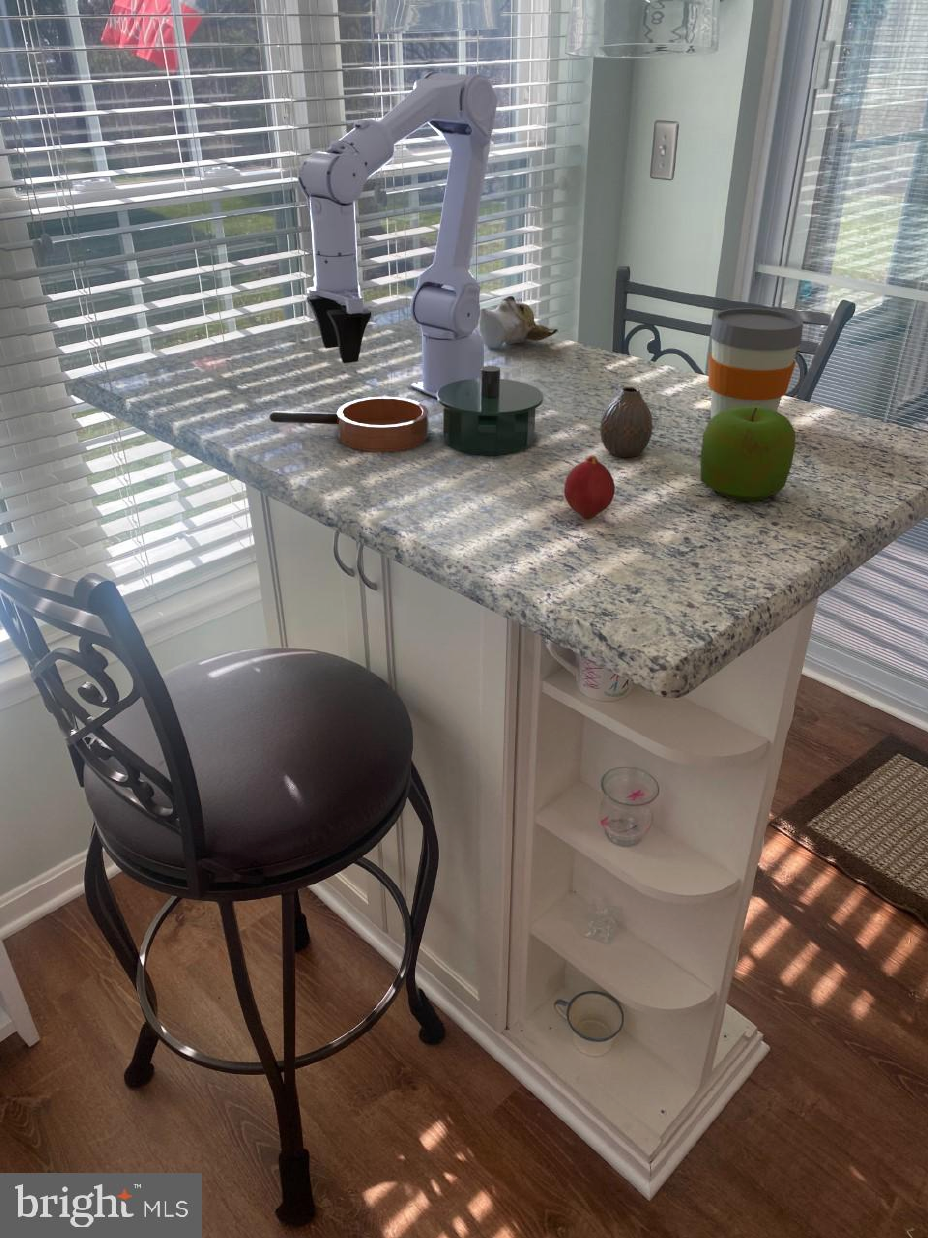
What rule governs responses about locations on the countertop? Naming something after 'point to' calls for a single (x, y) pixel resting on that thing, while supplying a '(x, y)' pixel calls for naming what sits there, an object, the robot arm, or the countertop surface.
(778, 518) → the countertop surface
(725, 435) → the apple
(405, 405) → the pan
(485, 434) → the pot
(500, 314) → the ceramic sculpture
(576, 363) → the countertop surface
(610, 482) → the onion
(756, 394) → the reusable coffee cup
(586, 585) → the countertop surface
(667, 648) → the countertop surface
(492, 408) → the lid
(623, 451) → the vase
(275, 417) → the pan handle
